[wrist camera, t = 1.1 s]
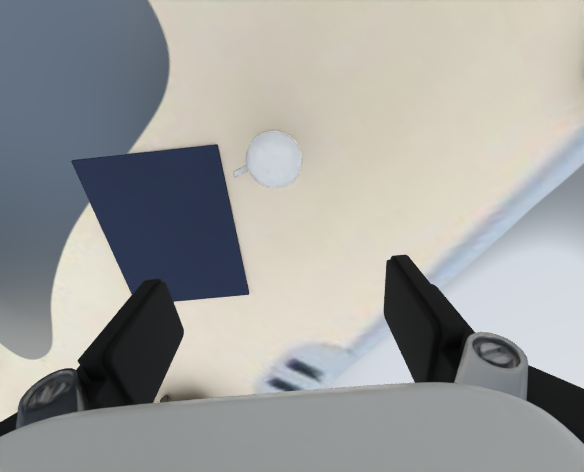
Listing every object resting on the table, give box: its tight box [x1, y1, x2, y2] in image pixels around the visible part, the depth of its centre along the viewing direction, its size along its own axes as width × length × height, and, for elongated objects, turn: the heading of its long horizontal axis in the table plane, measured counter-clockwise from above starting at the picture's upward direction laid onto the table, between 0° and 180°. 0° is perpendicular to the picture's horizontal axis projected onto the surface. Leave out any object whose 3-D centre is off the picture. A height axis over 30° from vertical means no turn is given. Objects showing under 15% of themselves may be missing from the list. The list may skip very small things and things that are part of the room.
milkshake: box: [233, 130, 302, 188], centre depth 24 cm, size 4×5×10 cm
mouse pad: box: [71, 145, 249, 302], centre depth 33 cm, size 20×16×1 cm
